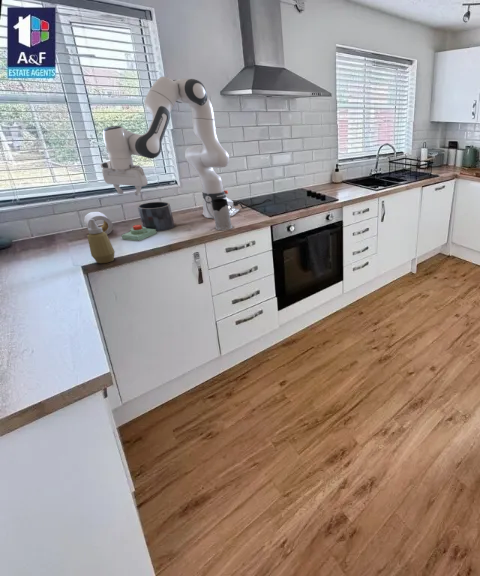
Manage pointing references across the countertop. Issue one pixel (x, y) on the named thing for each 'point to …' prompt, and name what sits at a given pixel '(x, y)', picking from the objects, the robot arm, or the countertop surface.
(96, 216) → the toilet paper
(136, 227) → the button
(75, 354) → the countertop surface
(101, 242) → the squeeze bottle
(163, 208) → the dark grey round container
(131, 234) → the base
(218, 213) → the grey and black mug
